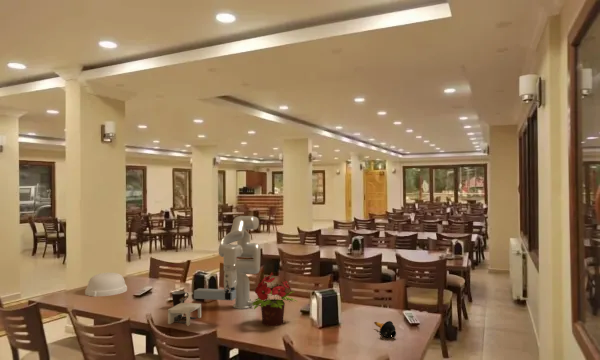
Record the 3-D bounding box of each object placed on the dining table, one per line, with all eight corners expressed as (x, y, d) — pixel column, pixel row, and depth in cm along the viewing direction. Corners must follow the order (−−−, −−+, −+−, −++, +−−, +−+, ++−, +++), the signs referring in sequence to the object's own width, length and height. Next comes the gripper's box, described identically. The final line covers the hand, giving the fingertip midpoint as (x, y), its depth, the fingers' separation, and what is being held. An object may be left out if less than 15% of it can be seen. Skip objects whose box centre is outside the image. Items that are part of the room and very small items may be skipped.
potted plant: (267, 314, 275) (267, 266, 276) (304, 320, 262) (304, 270, 262) (237, 327, 250) (237, 274, 250) (277, 335, 236) (276, 279, 237)
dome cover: (100, 286, 355) (100, 269, 356) (135, 287, 352) (135, 269, 352) (75, 296, 324) (75, 277, 324) (113, 297, 320) (113, 278, 320)
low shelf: (201, 317, 269) (201, 303, 269) (188, 325, 254) (188, 311, 254) (181, 315, 272) (181, 302, 272) (167, 323, 257) (167, 309, 257)
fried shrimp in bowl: (386, 332, 225) (364, 313, 240) (388, 347, 230) (366, 328, 245) (399, 323, 229) (377, 305, 243) (401, 338, 234) (379, 320, 248)
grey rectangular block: (236, 297, 259) (236, 290, 259) (231, 300, 253) (231, 292, 253) (198, 295, 264) (198, 288, 265) (193, 298, 258) (193, 290, 258)
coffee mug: (173, 310, 286) (173, 294, 286) (170, 306, 293) (170, 291, 293) (191, 307, 291) (191, 292, 291) (188, 304, 299) (188, 289, 299)
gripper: (230, 270, 247) (230, 302, 247) (241, 265, 264) (241, 294, 264) (218, 270, 249) (218, 301, 249) (229, 264, 266) (229, 294, 266)
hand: (230, 297), depth 256 cm, fingers closed on grey rectangular block, 6 cm apart
